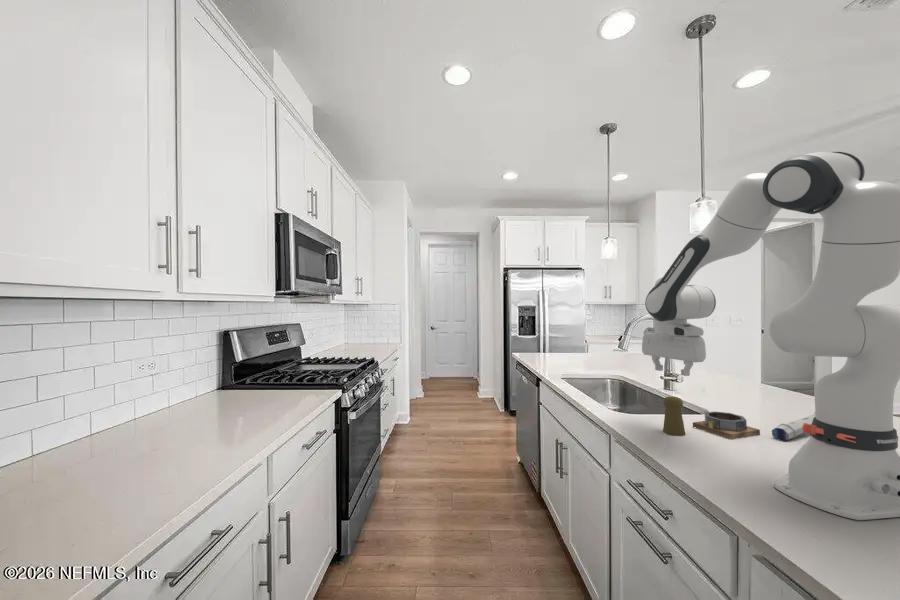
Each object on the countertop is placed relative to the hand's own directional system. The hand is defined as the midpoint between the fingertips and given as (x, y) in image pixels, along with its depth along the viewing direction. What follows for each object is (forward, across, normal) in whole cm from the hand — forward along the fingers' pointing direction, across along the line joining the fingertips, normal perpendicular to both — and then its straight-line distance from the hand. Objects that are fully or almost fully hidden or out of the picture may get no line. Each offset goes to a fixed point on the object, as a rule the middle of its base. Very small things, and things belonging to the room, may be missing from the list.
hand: (671, 372), depth 114 cm
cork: (+19, 0, 0) cm, 19 cm away
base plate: (+18, +4, +16) cm, 25 cm away
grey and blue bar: (+19, +14, +35) cm, 42 cm away
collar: (+17, +4, +15) cm, 23 cm away
